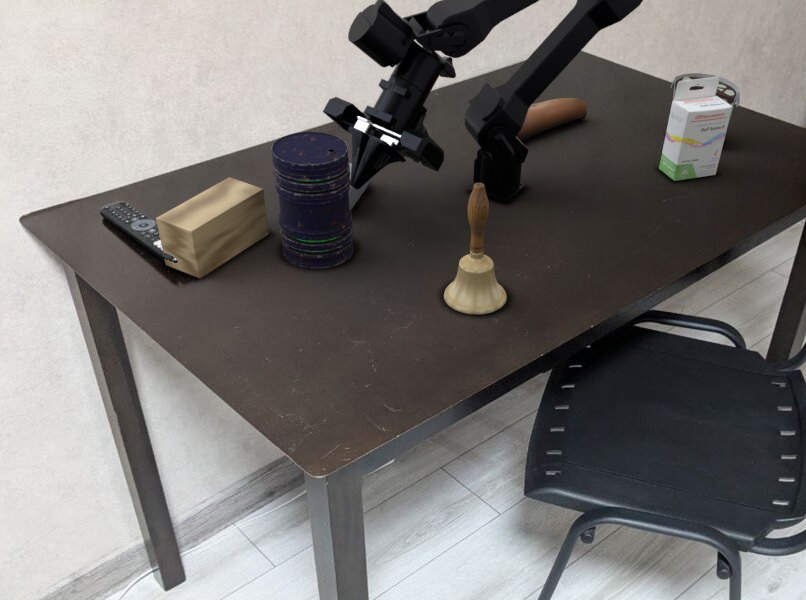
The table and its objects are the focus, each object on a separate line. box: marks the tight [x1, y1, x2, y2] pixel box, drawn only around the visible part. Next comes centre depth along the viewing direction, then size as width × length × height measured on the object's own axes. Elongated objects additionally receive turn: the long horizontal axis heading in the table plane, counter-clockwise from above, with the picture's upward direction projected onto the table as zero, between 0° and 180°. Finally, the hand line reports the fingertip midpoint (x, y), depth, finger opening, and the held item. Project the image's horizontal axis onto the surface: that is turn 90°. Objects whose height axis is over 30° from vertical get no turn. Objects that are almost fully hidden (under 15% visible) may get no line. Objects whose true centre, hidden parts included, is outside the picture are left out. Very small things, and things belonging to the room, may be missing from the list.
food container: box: [669, 72, 741, 121], centre depth 159 cm, size 12×6×10 cm, turn 58°
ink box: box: [658, 76, 732, 182], centre depth 146 cm, size 9×5×15 cm, turn 114°
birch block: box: [155, 176, 270, 279], centre depth 123 cm, size 6×14×7 cm, turn 151°
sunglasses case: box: [517, 97, 588, 142], centre depth 160 cm, size 18×7×7 cm
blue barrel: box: [271, 131, 354, 269], centre depth 122 cm, size 10×10×15 cm
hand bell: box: [443, 183, 508, 316], centre depth 115 cm, size 8×8×16 cm
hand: (354, 187), depth 127 cm, fingers closed
